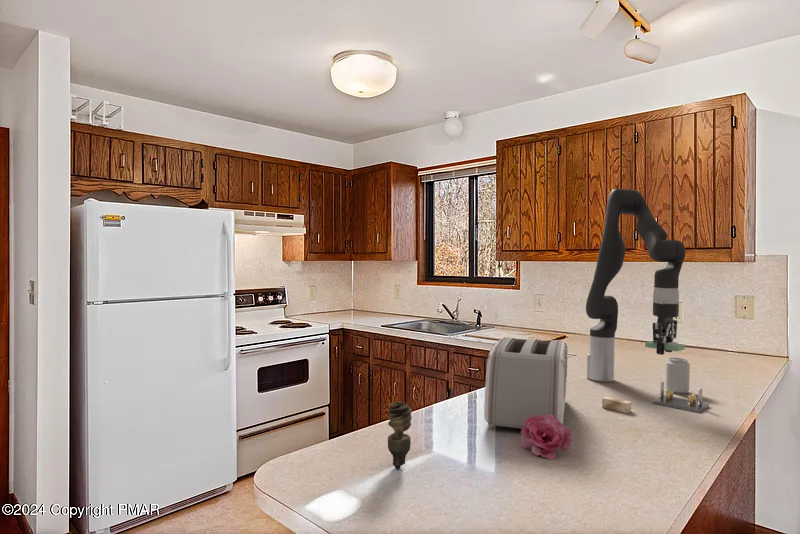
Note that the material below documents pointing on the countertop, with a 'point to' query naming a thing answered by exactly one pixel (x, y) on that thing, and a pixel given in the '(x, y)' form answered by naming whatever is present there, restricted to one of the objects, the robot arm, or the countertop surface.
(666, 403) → the chassis
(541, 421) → the flower
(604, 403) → the beige wooden block
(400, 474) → the countertop surface
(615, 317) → the robot arm
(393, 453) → the light bulb
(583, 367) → the countertop surface
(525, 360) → the toaster
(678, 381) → the can
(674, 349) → the board
